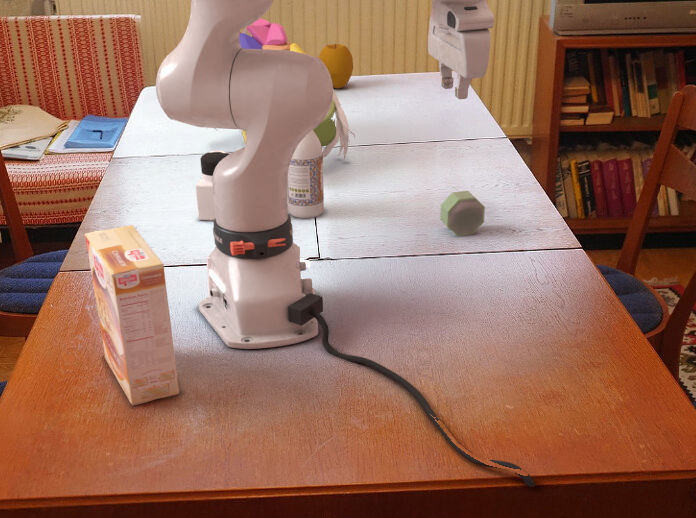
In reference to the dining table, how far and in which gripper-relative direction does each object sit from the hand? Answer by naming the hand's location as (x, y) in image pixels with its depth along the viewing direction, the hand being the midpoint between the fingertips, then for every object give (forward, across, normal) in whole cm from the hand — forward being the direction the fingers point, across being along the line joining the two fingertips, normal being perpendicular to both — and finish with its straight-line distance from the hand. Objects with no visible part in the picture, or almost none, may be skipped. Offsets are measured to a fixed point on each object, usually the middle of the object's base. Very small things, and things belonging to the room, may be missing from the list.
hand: (453, 92), depth 170 cm
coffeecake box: (+23, +43, -61) cm, 78 cm away
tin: (+20, +7, 0) cm, 21 cm away
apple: (+24, -99, +3) cm, 102 cm away
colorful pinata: (+24, -47, -23) cm, 57 cm away
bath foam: (+23, -11, -25) cm, 36 cm away
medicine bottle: (+23, -15, -41) cm, 49 cm away
